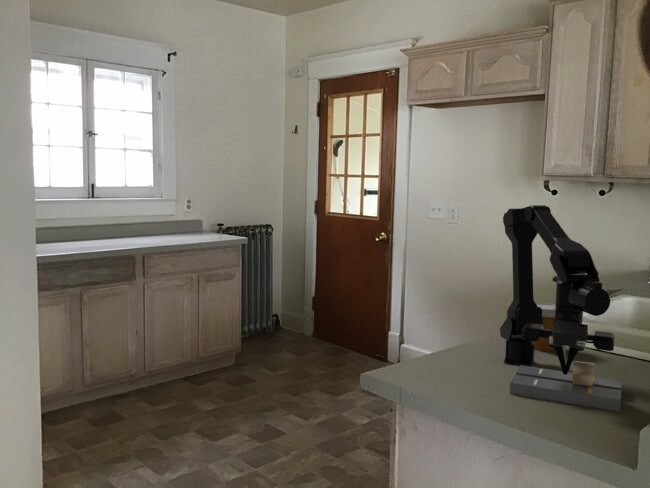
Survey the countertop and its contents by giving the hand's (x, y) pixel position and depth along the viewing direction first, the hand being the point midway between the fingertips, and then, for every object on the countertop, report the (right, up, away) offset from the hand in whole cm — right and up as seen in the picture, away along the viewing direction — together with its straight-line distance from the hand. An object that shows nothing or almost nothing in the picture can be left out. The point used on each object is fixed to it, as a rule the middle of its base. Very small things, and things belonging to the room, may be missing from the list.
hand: (565, 374), depth 137 cm
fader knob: (+3, -4, -1) cm, 5 cm away
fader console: (0, -4, 0) cm, 4 cm away
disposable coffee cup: (+7, 0, +35) cm, 35 cm away
